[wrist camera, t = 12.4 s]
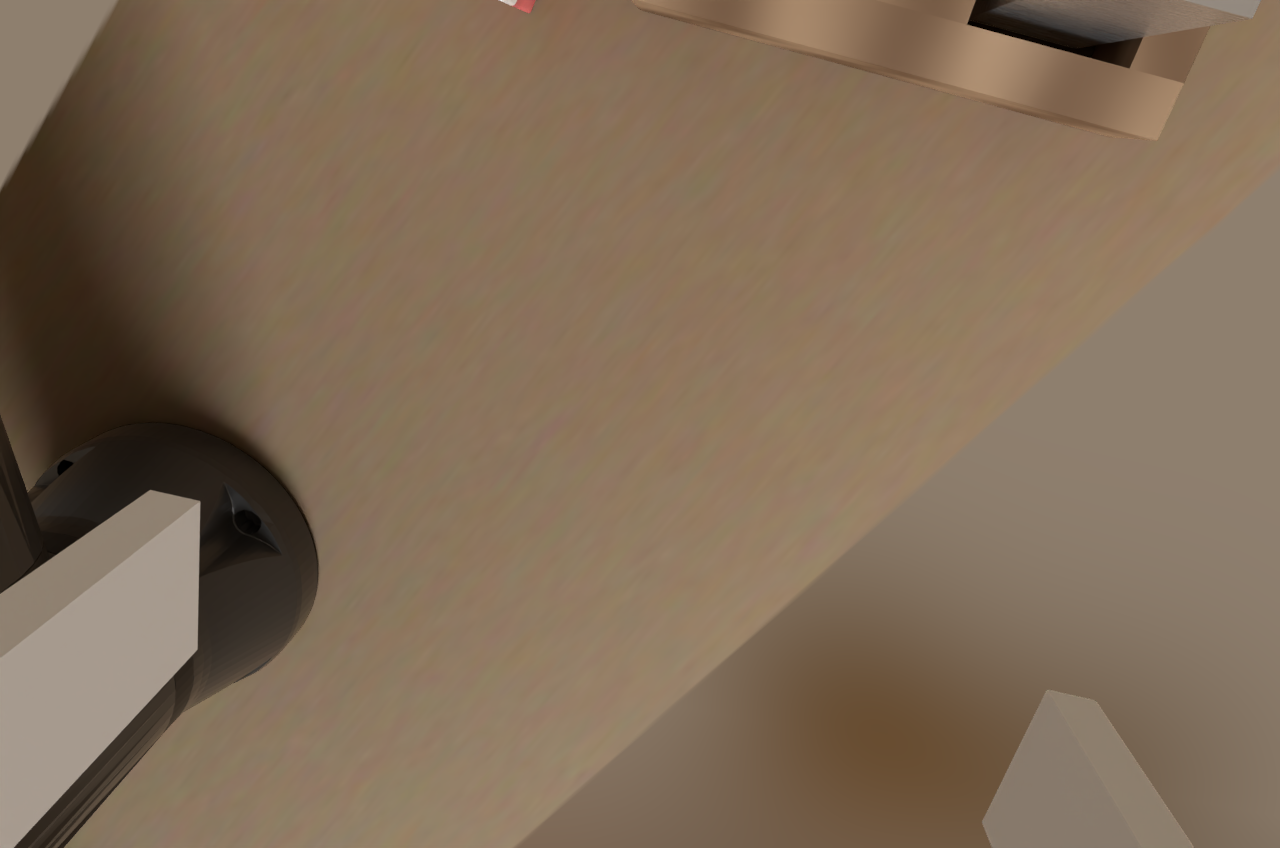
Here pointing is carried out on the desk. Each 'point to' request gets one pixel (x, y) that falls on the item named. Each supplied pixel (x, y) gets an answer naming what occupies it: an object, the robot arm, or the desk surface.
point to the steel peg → (1106, 18)
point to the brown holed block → (968, 56)
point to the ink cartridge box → (521, 4)
